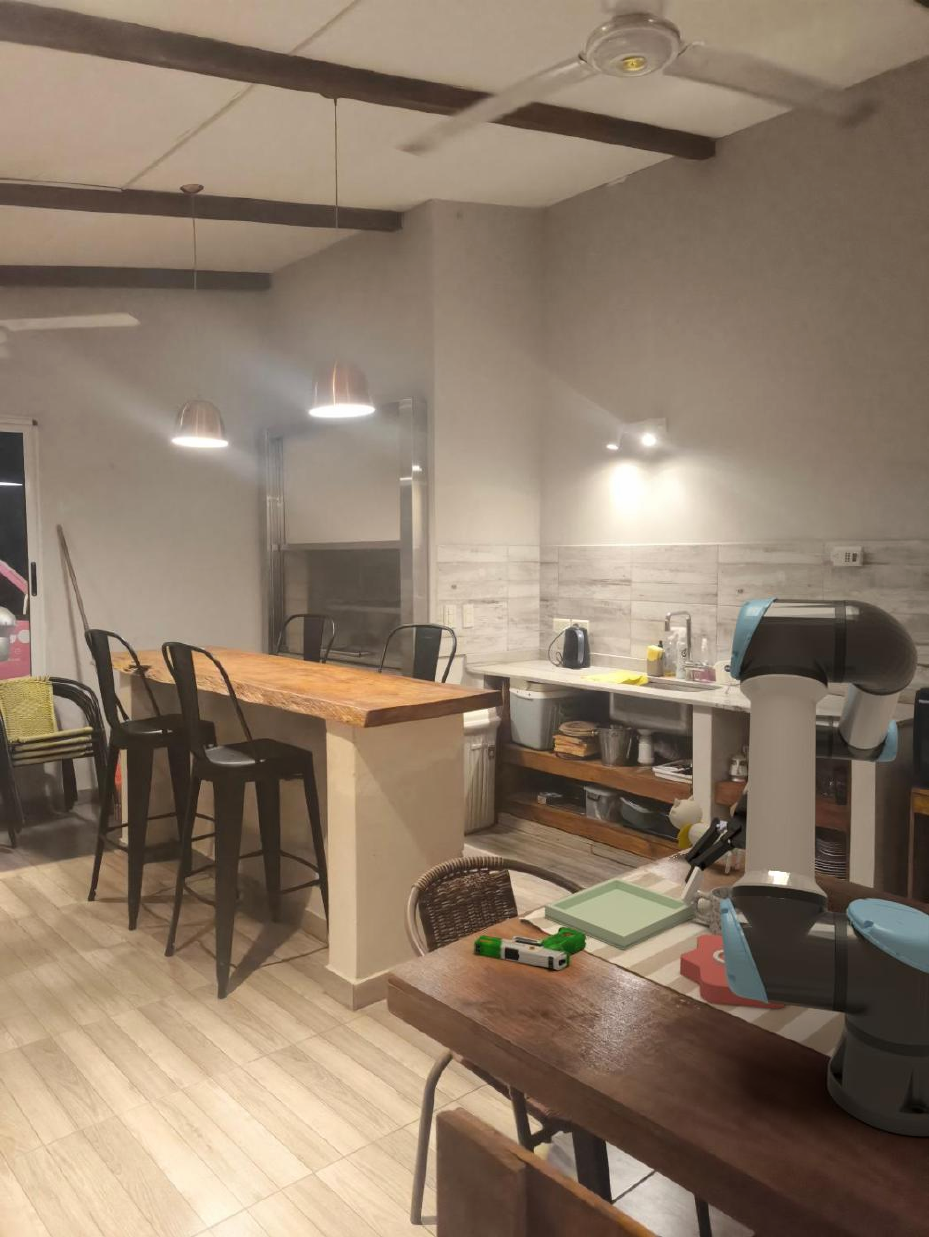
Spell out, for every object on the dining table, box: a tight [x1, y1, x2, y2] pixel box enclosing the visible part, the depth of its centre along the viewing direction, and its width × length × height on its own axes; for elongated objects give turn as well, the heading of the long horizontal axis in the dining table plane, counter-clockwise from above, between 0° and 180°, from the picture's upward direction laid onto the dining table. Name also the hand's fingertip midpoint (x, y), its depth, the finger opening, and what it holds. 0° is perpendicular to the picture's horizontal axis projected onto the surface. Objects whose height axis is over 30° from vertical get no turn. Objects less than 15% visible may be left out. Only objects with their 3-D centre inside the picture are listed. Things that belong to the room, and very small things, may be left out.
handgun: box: [473, 926, 587, 971], centre depth 156 cm, size 3×16×12 cm
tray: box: [544, 877, 695, 951], centre depth 169 cm, size 20×18×2 cm
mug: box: [692, 886, 732, 936], centre depth 163 cm, size 10×7×7 cm, turn 56°
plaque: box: [679, 933, 786, 1009], centre depth 146 cm, size 18×4×15 cm
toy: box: [668, 794, 743, 875], centre depth 193 cm, size 9×19×15 cm, turn 40°
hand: (710, 911), depth 161 cm, fingers closed on mug, 10 cm apart
